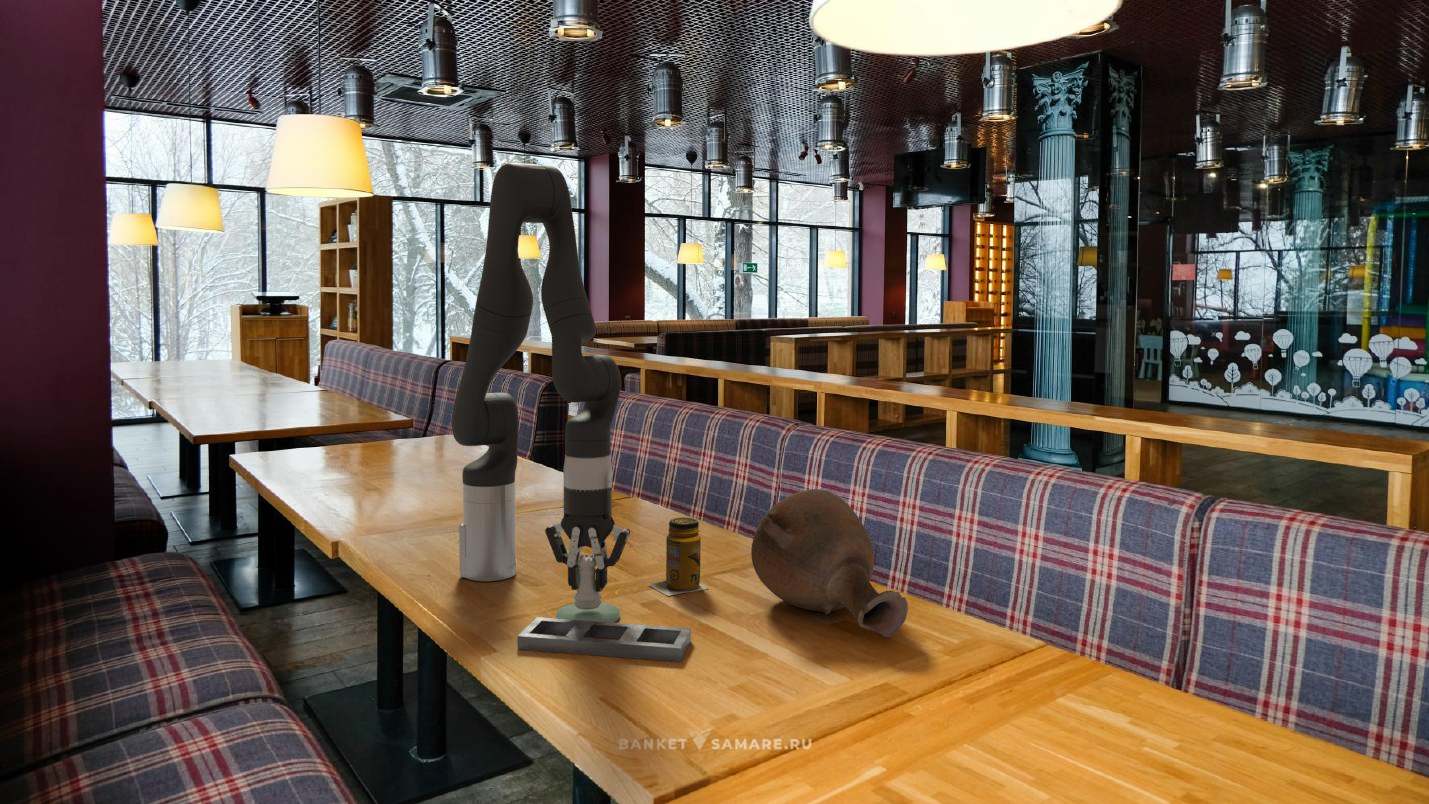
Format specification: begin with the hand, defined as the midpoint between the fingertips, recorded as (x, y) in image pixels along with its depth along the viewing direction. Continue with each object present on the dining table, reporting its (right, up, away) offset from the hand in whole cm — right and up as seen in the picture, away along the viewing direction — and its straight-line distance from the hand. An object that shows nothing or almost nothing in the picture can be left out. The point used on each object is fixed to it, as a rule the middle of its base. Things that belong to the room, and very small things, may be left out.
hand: (587, 588), depth 148 cm
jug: (+39, -5, +3) cm, 39 cm away
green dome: (0, -5, 0) cm, 5 cm away
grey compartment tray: (+4, -6, -11) cm, 13 cm away
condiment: (+14, -3, +16) cm, 22 cm away
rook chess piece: (0, -3, 0) cm, 3 cm away
